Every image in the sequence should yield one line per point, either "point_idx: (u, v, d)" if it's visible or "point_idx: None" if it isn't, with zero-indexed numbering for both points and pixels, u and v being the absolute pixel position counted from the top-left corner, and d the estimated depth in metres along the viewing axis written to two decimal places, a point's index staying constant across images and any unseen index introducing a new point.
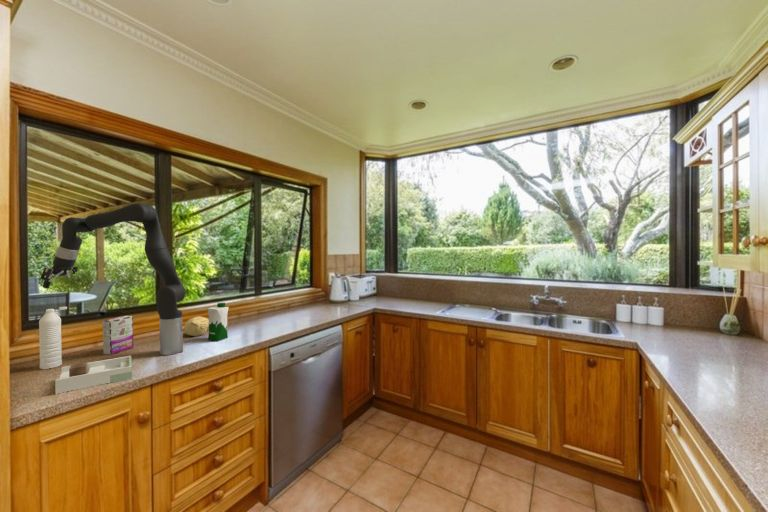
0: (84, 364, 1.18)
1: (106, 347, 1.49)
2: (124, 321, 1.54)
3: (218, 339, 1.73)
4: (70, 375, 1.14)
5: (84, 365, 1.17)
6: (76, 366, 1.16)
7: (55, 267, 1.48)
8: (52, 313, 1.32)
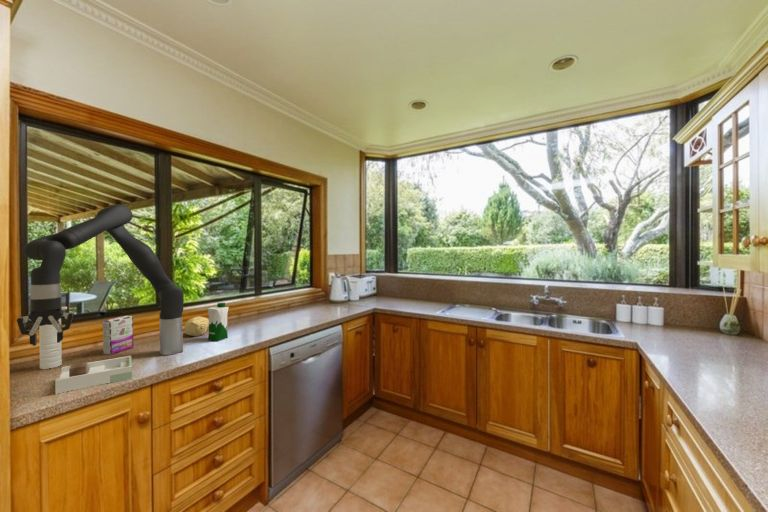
0: (84, 364, 1.18)
1: (106, 347, 1.49)
2: (124, 321, 1.54)
3: (218, 339, 1.73)
4: (70, 375, 1.14)
5: (84, 365, 1.17)
6: (76, 366, 1.16)
7: (61, 310, 1.14)
8: None
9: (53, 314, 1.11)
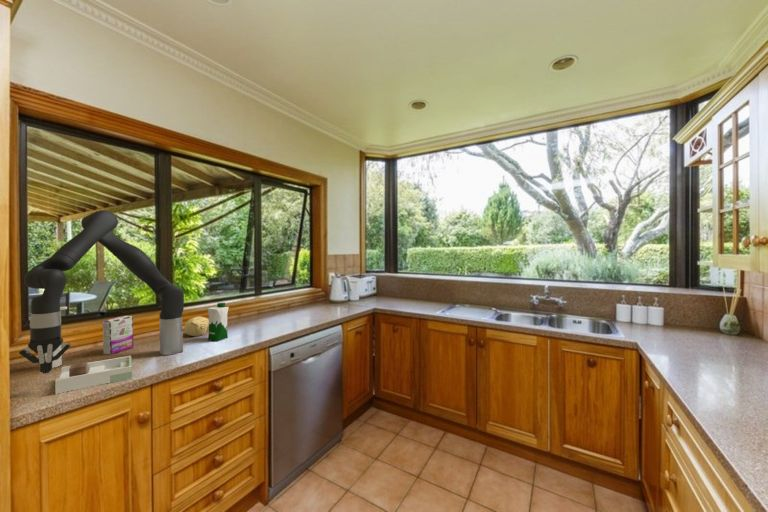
0: (84, 364, 1.18)
1: (106, 347, 1.49)
2: (124, 321, 1.54)
3: (218, 339, 1.73)
4: (70, 375, 1.14)
5: (84, 365, 1.17)
6: (76, 366, 1.16)
7: None
8: None
9: (53, 342, 1.12)
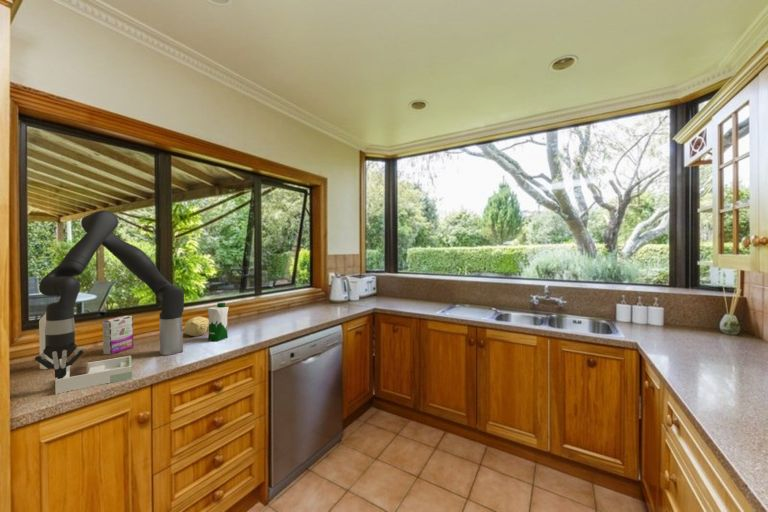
0: (85, 364, 1.18)
1: (106, 347, 1.49)
2: (124, 321, 1.54)
3: (218, 339, 1.73)
4: (70, 375, 1.14)
5: (85, 365, 1.17)
6: (76, 366, 1.16)
7: None
8: None
9: (67, 348, 1.14)
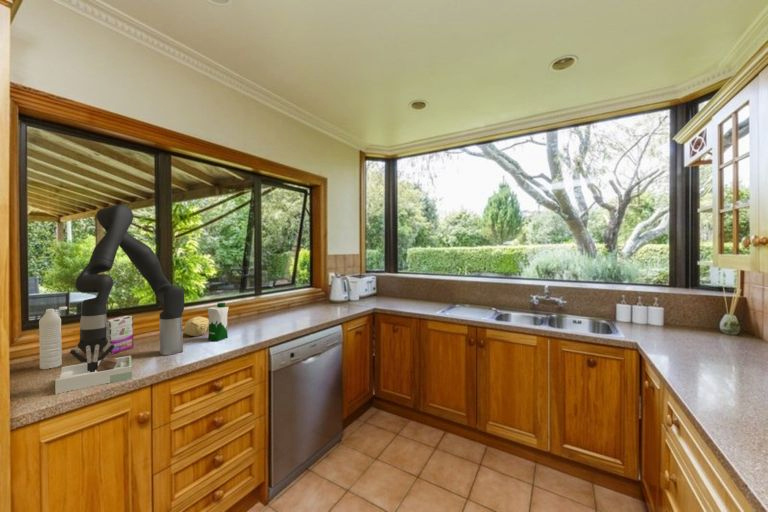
0: (115, 360, 1.23)
1: None
2: (124, 321, 1.54)
3: (218, 339, 1.73)
4: (99, 366, 1.18)
5: (115, 361, 1.22)
6: (108, 359, 1.21)
7: (106, 338, 1.22)
8: (52, 313, 1.32)
9: (99, 343, 1.19)
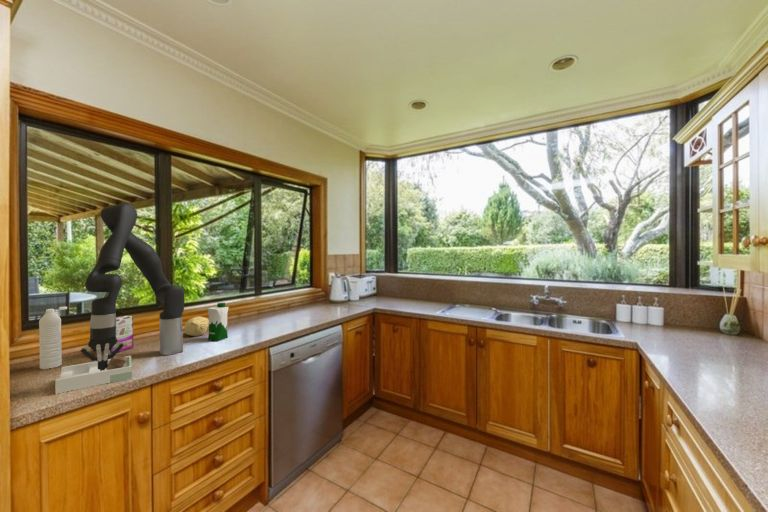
0: (124, 358, 1.25)
1: None
2: (124, 321, 1.54)
3: (218, 339, 1.73)
4: (109, 364, 1.20)
5: (124, 359, 1.24)
6: (118, 358, 1.23)
7: None
8: (52, 313, 1.32)
9: (109, 341, 1.21)
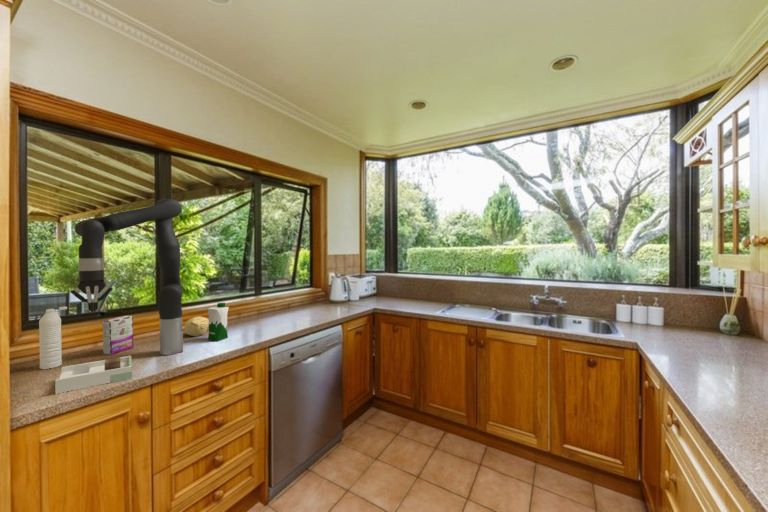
0: (118, 359, 1.24)
1: (106, 347, 1.49)
2: (124, 321, 1.54)
3: (218, 339, 1.73)
4: (105, 369, 1.20)
5: (118, 360, 1.23)
6: (110, 361, 1.21)
7: None
8: (52, 313, 1.32)
9: (98, 284, 1.27)
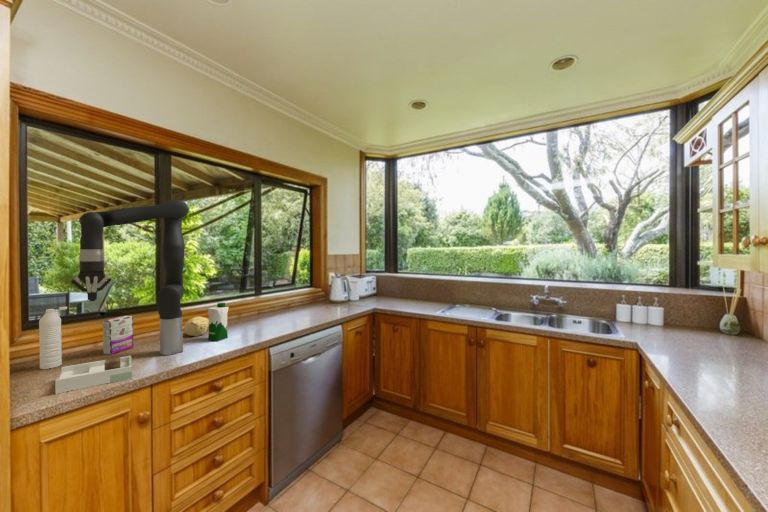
0: (118, 359, 1.24)
1: (106, 347, 1.49)
2: (124, 321, 1.54)
3: (218, 339, 1.73)
4: (105, 369, 1.20)
5: (118, 360, 1.23)
6: (110, 361, 1.21)
7: None
8: (52, 313, 1.32)
9: (97, 275, 1.31)
